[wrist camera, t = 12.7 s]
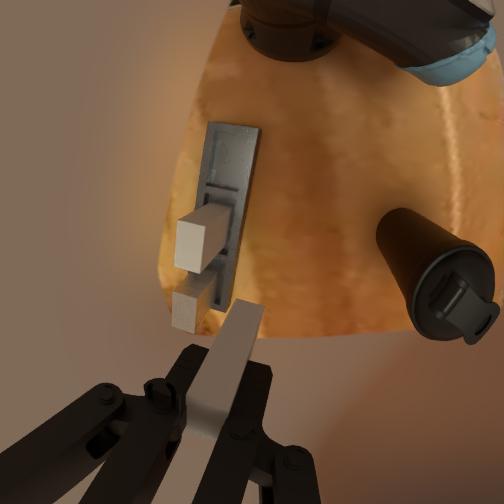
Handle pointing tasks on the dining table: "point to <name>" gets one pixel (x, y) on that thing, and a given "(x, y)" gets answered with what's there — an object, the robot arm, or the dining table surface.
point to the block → (202, 236)
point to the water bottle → (439, 277)
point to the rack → (237, 194)
